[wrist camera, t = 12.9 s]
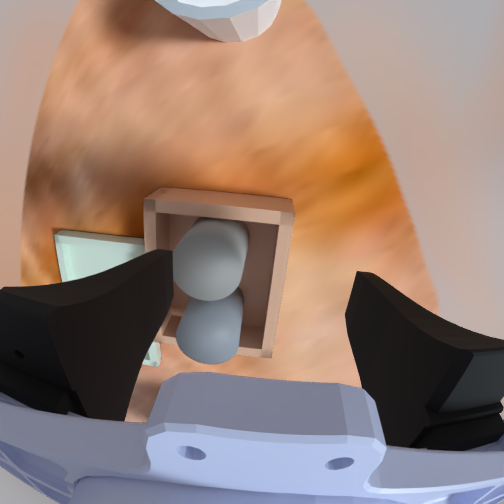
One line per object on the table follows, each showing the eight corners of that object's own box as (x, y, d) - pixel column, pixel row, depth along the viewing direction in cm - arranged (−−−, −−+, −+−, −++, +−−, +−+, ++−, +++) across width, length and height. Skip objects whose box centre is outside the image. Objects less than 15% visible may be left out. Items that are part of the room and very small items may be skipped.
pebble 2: (235, 327, 24) (228, 371, 20) (186, 311, 24) (170, 352, 19) (251, 286, 23) (247, 327, 18) (199, 269, 22) (182, 306, 18)
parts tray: (161, 358, 27) (157, 367, 26) (84, 340, 27) (79, 348, 26) (152, 239, 22) (146, 245, 21) (62, 229, 23) (54, 234, 21)
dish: (272, 332, 25) (271, 358, 22) (164, 317, 25) (153, 341, 22) (292, 199, 20) (294, 213, 18) (160, 187, 21) (143, 198, 18)
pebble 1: (243, 269, 22) (235, 307, 18) (189, 257, 22) (167, 292, 18) (254, 215, 21) (248, 242, 16) (195, 204, 21) (173, 227, 16)
